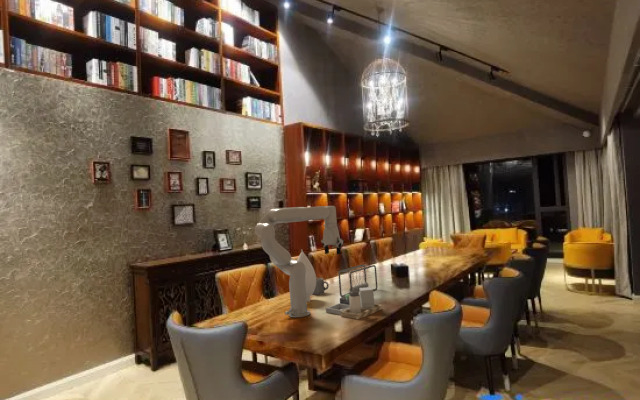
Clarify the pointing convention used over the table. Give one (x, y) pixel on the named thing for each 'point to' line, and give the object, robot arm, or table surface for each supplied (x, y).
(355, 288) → the newton's cradle
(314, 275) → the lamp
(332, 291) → the table surface
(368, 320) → the table surface
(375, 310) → the wooden frame with crossbar
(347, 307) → the frame
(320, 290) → the coffee mug
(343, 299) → the grey square holder
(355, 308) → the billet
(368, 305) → the supplement box
